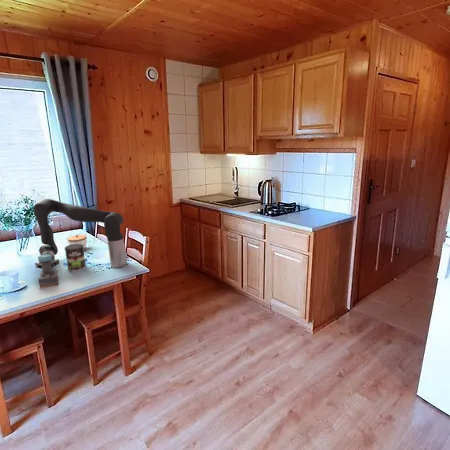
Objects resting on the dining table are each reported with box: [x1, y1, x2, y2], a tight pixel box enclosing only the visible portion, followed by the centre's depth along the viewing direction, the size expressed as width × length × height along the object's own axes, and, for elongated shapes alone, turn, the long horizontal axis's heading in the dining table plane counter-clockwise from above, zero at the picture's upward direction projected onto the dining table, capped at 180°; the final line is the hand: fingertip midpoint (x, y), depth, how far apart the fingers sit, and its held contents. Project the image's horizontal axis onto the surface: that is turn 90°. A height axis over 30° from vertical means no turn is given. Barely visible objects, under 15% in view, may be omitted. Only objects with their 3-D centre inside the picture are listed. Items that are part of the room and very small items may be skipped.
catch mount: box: [38, 268, 59, 289], centre depth 182 cm, size 20×9×6 cm, turn 27°
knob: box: [37, 254, 53, 277], centre depth 177 cm, size 7×7×14 cm
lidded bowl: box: [67, 234, 88, 249], centre depth 231 cm, size 13×13×11 cm
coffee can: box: [64, 244, 87, 272], centre depth 197 cm, size 10×10×14 cm
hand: (46, 268), depth 179 cm, fingers closed
